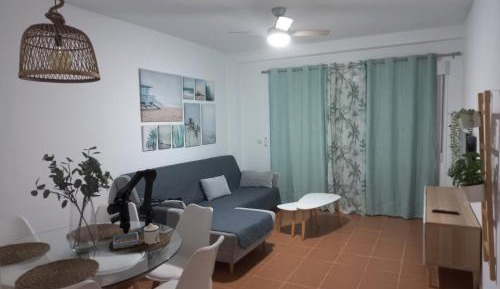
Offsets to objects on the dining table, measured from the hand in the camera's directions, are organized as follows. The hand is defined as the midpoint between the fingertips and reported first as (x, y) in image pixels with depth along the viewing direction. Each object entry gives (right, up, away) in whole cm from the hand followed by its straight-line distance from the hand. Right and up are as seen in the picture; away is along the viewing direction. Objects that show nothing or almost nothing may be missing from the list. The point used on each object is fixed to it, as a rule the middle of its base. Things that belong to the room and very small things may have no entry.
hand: (126, 234), depth 213 cm
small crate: (0, -2, 0) cm, 2 cm away
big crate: (+4, -3, -11) cm, 12 cm away
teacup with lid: (+20, -2, -10) cm, 22 cm away
